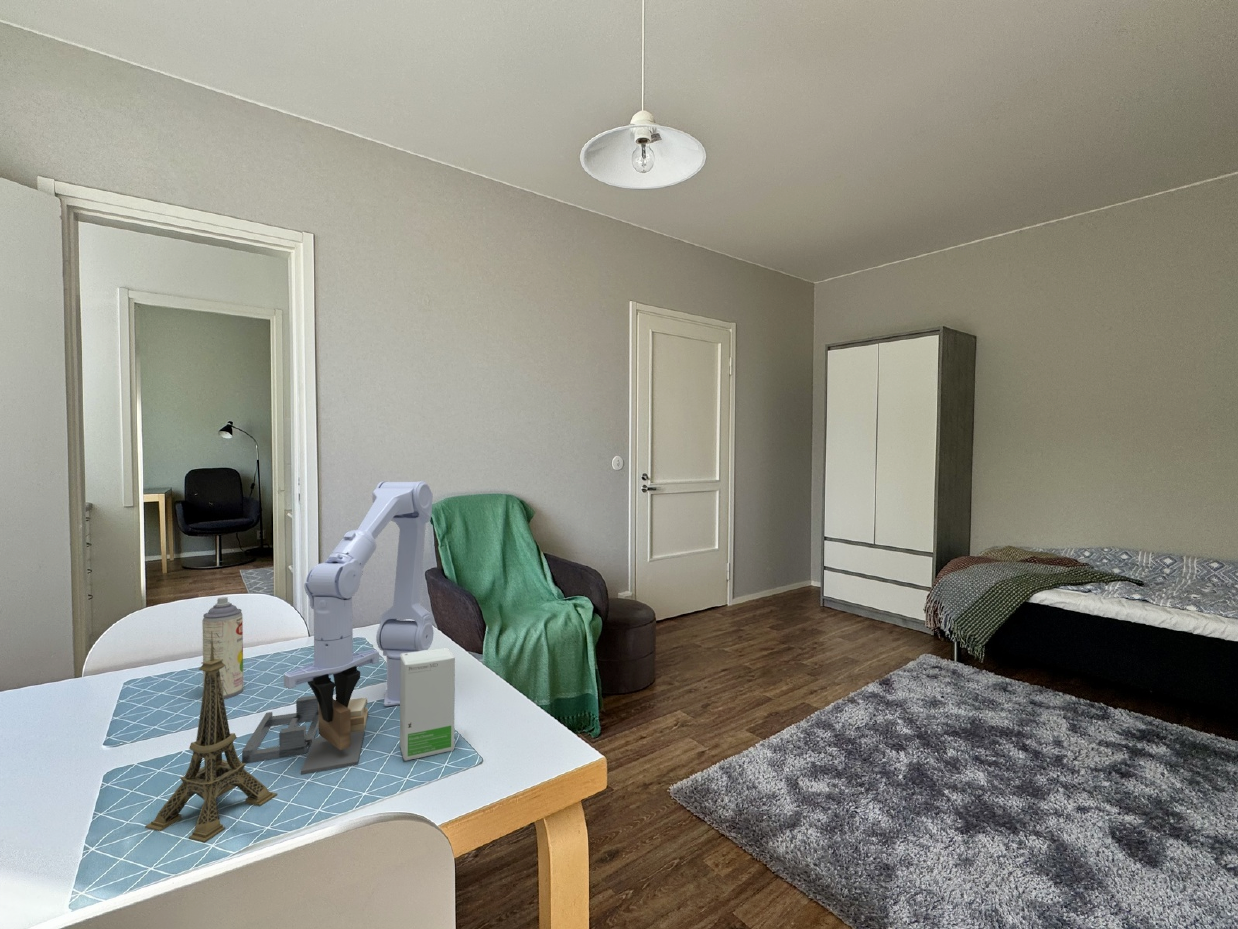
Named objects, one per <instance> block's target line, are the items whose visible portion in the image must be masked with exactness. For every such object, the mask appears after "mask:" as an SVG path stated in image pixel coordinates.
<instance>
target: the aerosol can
mask: <svg viewBox="0 0 1238 929" xmlns="http://www.w3.org/2000/svg"><path fill="white" fill-rule="evenodd" d="M228 600H229V599H228V597H227V596H222V597H221V596H220V597H218V598H217V603H215V604H214V605H213V607H211V608H210V609H209V610H208V611H207V612H206V613H203V616H202V617H203V618H202V619H201V620H202V662H204V661H207V660H210V656H211V642H212V641H213V651H214V658H216V659H223V661H221V662H222V663H223V664H225V665H226V666H224V667H222V668H221V669H219V671H220V678H221V684H222V691H223V697H224V700H226V699H227V700H228V699H230V698H232V697H236V696H238V695H240V694H242V693H243V692H244V641H243V640H244V636H243V635H244V634H243V633H244V631H243V625H244V624H243V623H244V622H243V621H244V620H243V619H244V618H243V617H244V616H243V612H242V609H240V608H237V606H236V605H234V604H232V603H231V602H230V601H228ZM211 631H212V640H211ZM202 673H203V674H202V675H203V676H202V680H203V681H202V682H203V684H202V686H203V688H204V680H205V671H202ZM203 688H202V689H203Z"/></svg>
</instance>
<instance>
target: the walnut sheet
mask: <svg viewBox="0 0 1238 929" xmlns="http://www.w3.org/2000/svg"><path fill="white" fill-rule="evenodd" d="M318 735H319V737H323V738H324V739H326V740H327V741H329V742H330V743H331V744H333V745H334V746H335V747H337V748H338V749H339V750H342V749H345V748H348V747H350V709H349V708H347V707H345V706H344V705H342V704H341V703H339V702H337V701H336V699H334V698H333V718H332V721H331V722H326V721H325V720H323V718H322V713H321V709H320V706H319V726H318Z"/></svg>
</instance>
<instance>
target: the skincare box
mask: <svg viewBox="0 0 1238 929" xmlns="http://www.w3.org/2000/svg"><path fill="white" fill-rule="evenodd" d="M400 662H401V670H400V704H399V748H400V752H401V754H402V758H403V760H404V761H406V762H407V761H410V760H413V759H420V758H424V757H425V758H426V757H428V756H429V757H430V756H433V755H437V754H443V753H448V752H453V751H454V750H455V709H456V708H455V704H456V703H455V701H456V700H455V696H456V695H455V690H456V689H455V688H456V686H455V685H456V684H455V683H456V682H455V681H456V680H455V677H456V674H455V673H456V668H455V667H456V666H455V665H456V664H455V663H456V657H455V656H454V654H453V653H452V651H451V650H450V649H449V647H446V648H445V647H444V648H436V649H428V650H422V651H418V652H410V653H402V654H400Z"/></svg>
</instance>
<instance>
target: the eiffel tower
mask: <svg viewBox="0 0 1238 929" xmlns="http://www.w3.org/2000/svg"><path fill="white" fill-rule="evenodd" d="M211 640H212V631H211ZM221 661H223V659H216V658H214V651H213V641H212V642H211V656H210V660H207V661H204V662H203V661H202V662H201V663H200V664H202V665H201V666H200V667H199V668H198V670H199V671H202V672H203V671H205V680H204V688H202V698H201V706H200V713H199V717H198V718H199V720H198V726H197V733H196V739H195V741H192V742H191V743H190V745H189V748H188V749H189V750H191V751H192V756H191V760H190V763H189V766H188V769H187V770H186V772H185V774H184V776H180V780H181V782H182V783H181V784H180V785H179V786H178V787H177V789H176V790H175V791H174V792H173V794H172V795H171V796H170V797H169V798H168V800H167V801H166V803H164V805H163V806H162V807H161V809H160V810H159V812H158V813H157V814H156V816H155V818H154V820H152V821H151V822H150V823H148V824H146V825H145V826H144V828H145V829H149V830H153V831H156V832H162V831H163V830H165V829H167V828H169V827H171V826H173V824H175V823H176V824H177V822H179V821H180V820H182V819H183V814H181V811H182V809H184V807H185V806H186V804H187V803H188V801H189V800H190V798H192V797H193V796H194V795H197V796H198V797H200V798H201V799H202V800H203V804H202V806H201V810H200V812H199V814H198V815H199V816H198V818H197V819H196V820H197V821H196V824H195V827H194V830H193V831H192V833H191V835H189V836H188V839H189V840H191V841H196V842H199V843H206V842H209V841H210V840H211V839H213V838H214V837H216V836H218V835H219V834H221V833H222V832H223V831H225V830H226V826H224V824H223V823H221V819H220V815H219V814H220V813H219V809H218V803H217V797H218V798H220V797H221V796H223V795H224V794H226V793H228V792H229V791H231V790H234V789H235V788H236V787H237V788H238V789H240V791H241V792H243V794H244V795H246V796H247V797H246V798H245V799H244V800H245V804H249V805H252V806H256V807H257V806H258V807H262V806H263V805H264V804H266V803H268V802H270V801H271V800H273V799H274V798H275V797H277V796H278V793H277V792H273V791H269V789H268V787H267V786H266V785H264V784H263V783H262V782H261V781H259V780H258V779H257V778H256V777H255V776H254V775H252V774H251V773H250V772H248V771H247V770H246V769H245V766H246V764H247V763H242V760H240V758H239V756H238V754H237V751H236V748H235V745H234V741H235V740H237V739H238V737H237V734H236V733H234V732H233V733H231V732H230V726H229V721H228V715H227V709H226V704H225V699H224V697H223V691H222V684H221V678H220V671H219V669H221V668H222V667H224V666H226V665H225V664H223V663H222V662H221ZM223 753H224V756H225V759H226V760H224V759H223ZM203 759H204V766H202V767H201V765H202V763H203V762H202V761H203Z"/></svg>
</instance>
